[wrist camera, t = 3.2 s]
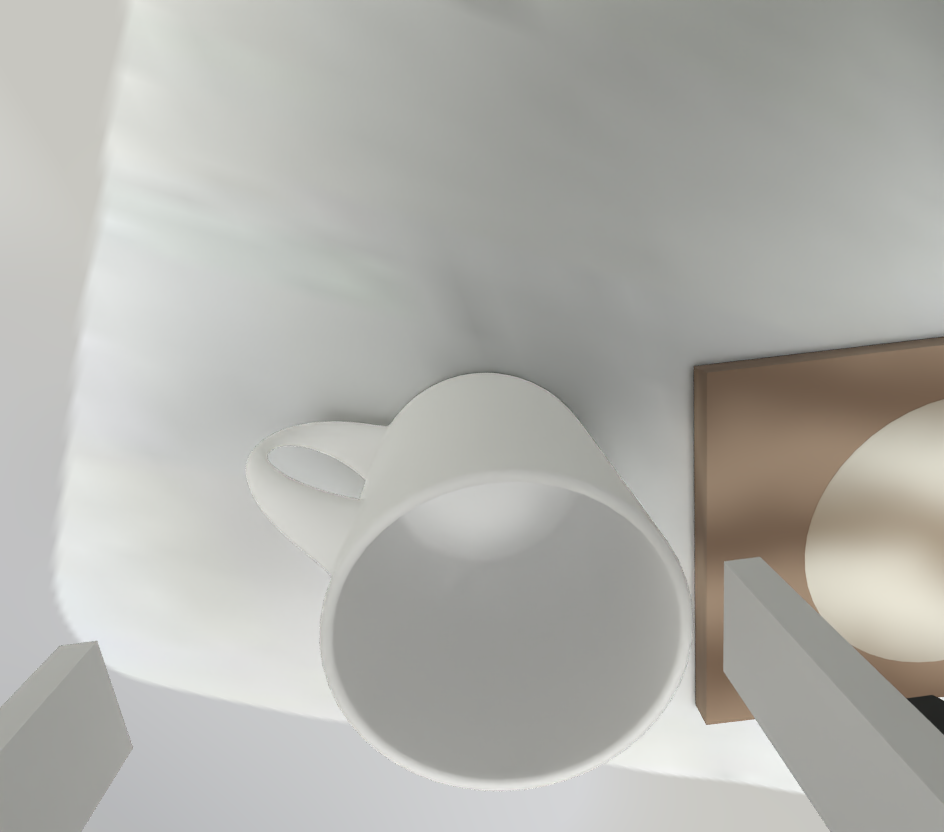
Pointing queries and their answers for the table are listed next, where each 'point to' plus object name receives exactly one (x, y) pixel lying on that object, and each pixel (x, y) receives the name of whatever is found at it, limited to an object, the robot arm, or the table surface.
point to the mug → (485, 586)
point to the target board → (826, 502)
